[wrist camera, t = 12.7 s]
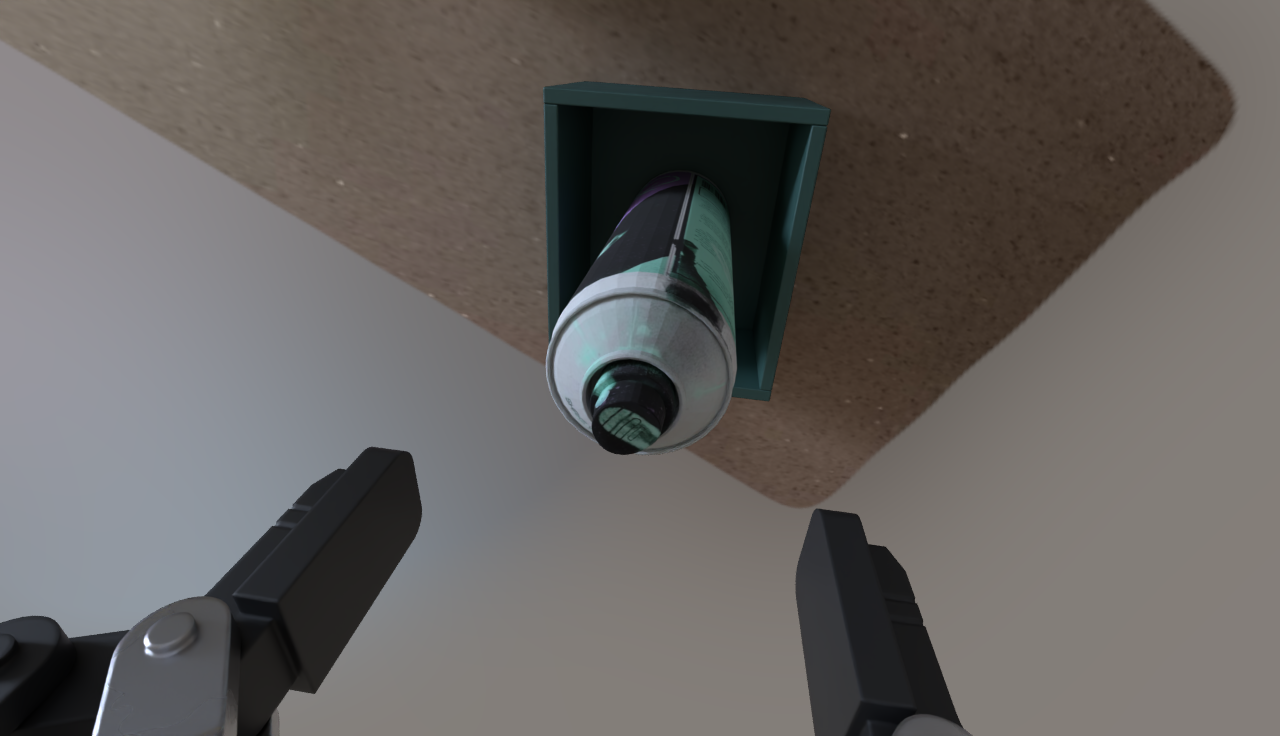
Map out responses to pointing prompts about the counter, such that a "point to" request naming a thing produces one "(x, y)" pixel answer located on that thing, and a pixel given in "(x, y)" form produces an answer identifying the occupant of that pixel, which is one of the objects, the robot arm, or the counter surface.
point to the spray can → (652, 324)
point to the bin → (695, 141)
